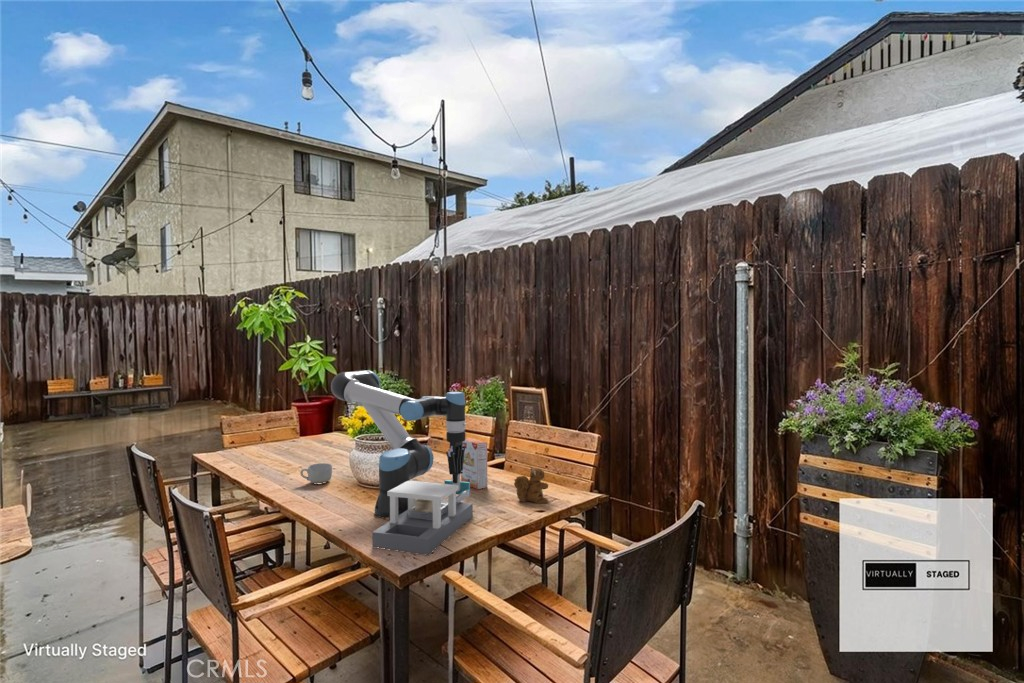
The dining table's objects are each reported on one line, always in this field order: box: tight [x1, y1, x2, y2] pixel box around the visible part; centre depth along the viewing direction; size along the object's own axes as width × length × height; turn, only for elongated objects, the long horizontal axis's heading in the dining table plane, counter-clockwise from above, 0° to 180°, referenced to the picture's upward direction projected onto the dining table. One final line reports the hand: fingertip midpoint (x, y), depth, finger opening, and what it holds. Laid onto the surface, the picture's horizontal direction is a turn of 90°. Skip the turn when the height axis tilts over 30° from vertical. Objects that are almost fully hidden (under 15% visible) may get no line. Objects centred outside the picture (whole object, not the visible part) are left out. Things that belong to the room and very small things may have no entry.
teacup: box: [299, 462, 333, 484], centre depth 236 cm, size 14×11×8 cm
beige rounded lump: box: [415, 499, 433, 512], centre depth 177 cm, size 6×6×6 cm
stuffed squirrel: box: [513, 467, 549, 504], centre depth 210 cm, size 10×14×13 cm
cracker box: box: [460, 437, 488, 490], centre depth 231 cm, size 14×6×21 cm, turn 37°
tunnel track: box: [371, 480, 474, 556], centre depth 177 cm, size 20×36×16 cm, turn 162°
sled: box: [408, 479, 471, 521], centre depth 188 cm, size 11×30×5 cm, turn 162°
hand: (456, 490), depth 200 cm, fingers closed
